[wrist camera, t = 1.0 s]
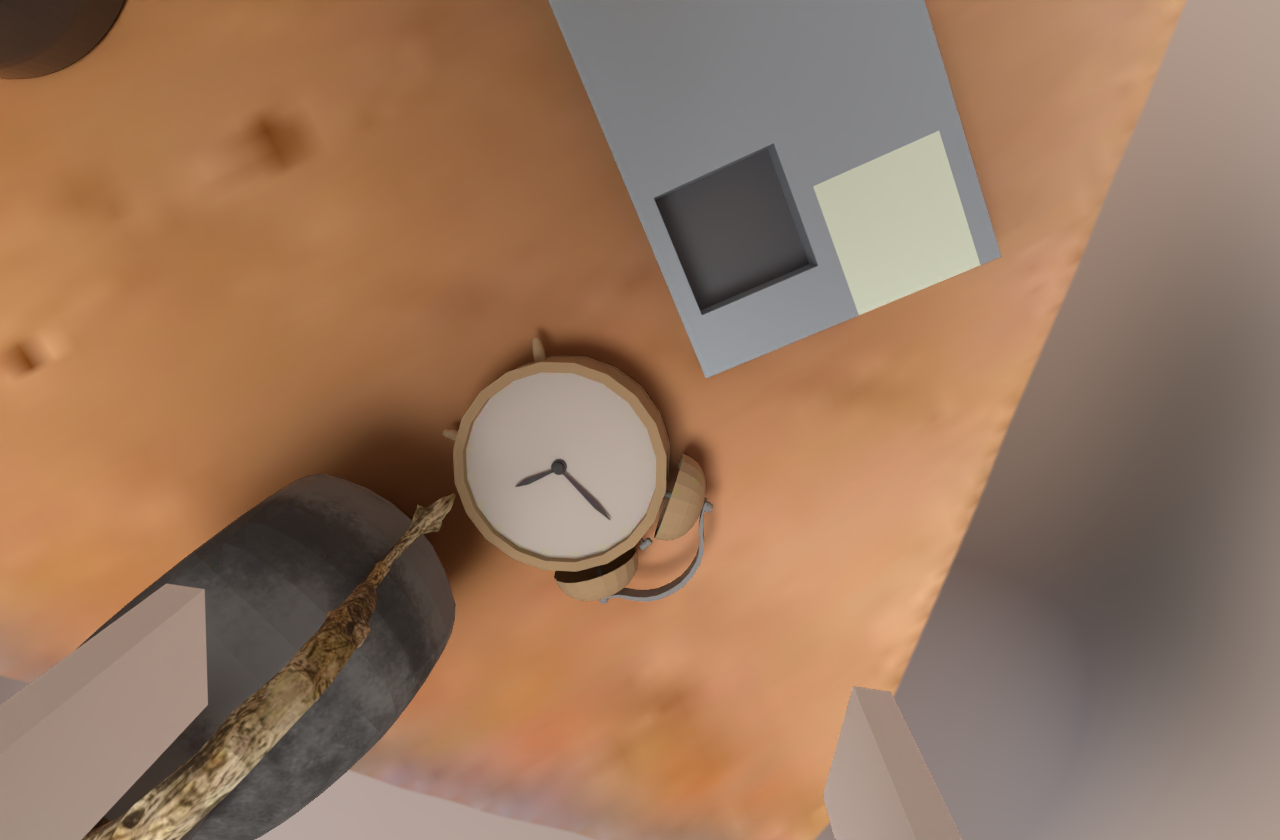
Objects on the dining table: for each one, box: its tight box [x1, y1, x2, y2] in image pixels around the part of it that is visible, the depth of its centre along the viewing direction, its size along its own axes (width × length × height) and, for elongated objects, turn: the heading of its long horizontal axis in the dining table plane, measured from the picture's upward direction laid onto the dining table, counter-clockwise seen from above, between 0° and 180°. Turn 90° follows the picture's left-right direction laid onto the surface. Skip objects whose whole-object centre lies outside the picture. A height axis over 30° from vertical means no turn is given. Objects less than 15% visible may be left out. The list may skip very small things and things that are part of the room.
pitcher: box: [77, 474, 456, 840], centre depth 26 cm, size 11×19×30 cm, turn 129°
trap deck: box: [548, 0, 1001, 378], centre depth 32 cm, size 26×15×2 cm, turn 23°
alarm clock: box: [443, 338, 713, 604], centre depth 37 cm, size 11×5×15 cm
